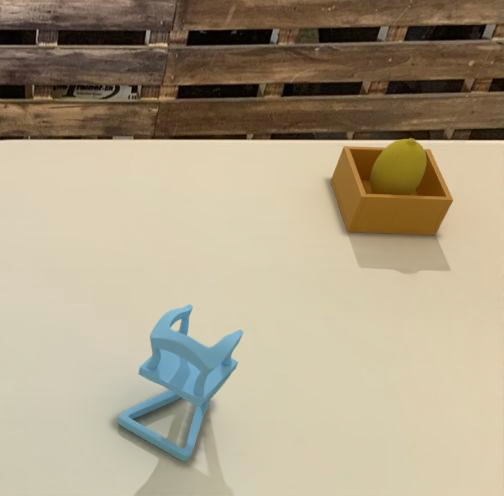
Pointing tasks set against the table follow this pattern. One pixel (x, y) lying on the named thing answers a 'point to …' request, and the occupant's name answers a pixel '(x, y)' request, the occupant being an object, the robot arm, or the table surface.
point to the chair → (181, 376)
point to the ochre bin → (388, 197)
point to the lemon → (399, 168)
